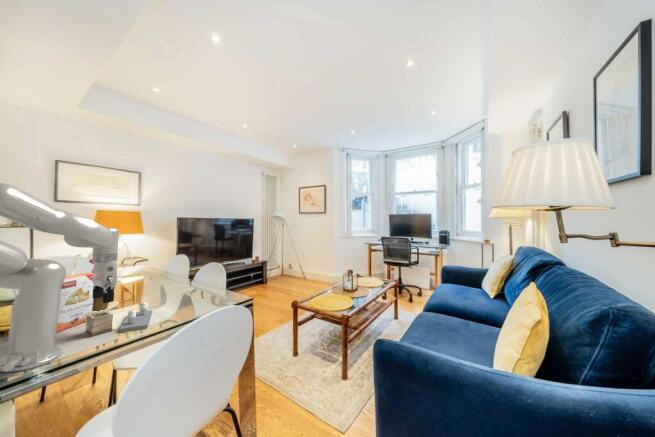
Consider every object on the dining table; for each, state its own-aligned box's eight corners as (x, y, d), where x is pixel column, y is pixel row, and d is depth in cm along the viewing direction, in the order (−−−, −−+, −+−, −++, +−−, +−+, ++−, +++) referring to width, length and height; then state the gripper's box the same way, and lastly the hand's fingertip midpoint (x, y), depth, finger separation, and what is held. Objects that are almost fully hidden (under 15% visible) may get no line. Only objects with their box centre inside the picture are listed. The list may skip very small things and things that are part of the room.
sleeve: (111, 331, 97) (113, 313, 97) (91, 336, 91) (93, 318, 92) (105, 327, 100) (106, 310, 100) (85, 333, 94) (87, 315, 95)
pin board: (147, 328, 100) (148, 311, 101) (119, 332, 96) (120, 314, 96) (152, 313, 117) (153, 298, 118) (128, 316, 113) (129, 300, 113)
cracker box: (57, 333, 93) (61, 279, 94) (42, 332, 93) (46, 279, 94) (92, 319, 107) (96, 273, 108) (79, 319, 107) (83, 272, 108)
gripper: (126, 259, 96) (124, 301, 96) (107, 254, 104) (105, 293, 104) (102, 261, 90) (99, 307, 89) (84, 256, 98) (81, 298, 97)
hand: (102, 299), depth 97 cm, fingers open, 9 cm apart
